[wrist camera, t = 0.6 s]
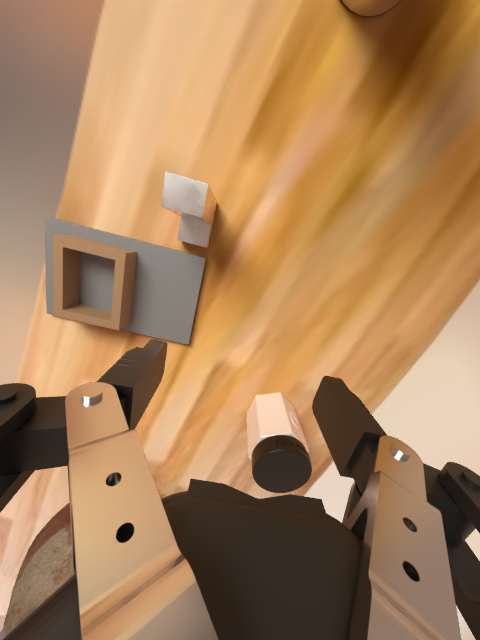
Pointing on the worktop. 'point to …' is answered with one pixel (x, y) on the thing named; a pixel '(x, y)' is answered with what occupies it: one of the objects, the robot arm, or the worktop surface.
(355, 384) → the worktop surface
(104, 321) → the board
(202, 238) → the block
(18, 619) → the jug
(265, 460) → the jar
